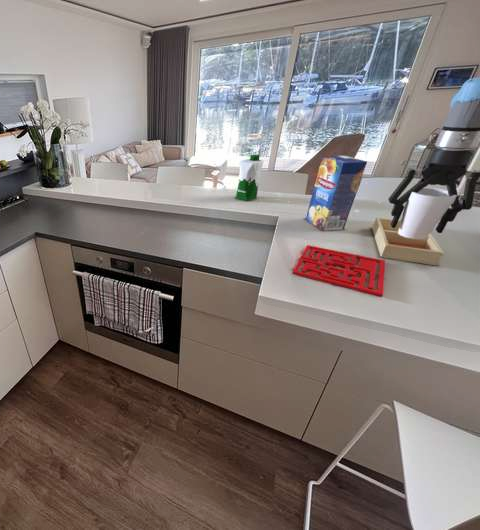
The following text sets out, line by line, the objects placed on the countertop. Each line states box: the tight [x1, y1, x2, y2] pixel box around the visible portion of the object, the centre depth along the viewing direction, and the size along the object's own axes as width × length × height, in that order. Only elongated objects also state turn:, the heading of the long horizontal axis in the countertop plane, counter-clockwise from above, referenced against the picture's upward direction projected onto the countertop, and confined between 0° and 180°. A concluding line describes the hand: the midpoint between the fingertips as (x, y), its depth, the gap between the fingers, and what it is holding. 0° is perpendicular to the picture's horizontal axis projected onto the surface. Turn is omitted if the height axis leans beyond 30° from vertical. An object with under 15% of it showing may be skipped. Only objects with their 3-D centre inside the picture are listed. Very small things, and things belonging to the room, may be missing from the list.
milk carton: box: [235, 154, 265, 202], centre depth 138 cm, size 9×9×20 cm
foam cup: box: [398, 187, 457, 239], centre depth 82 cm, size 10×9×13 cm
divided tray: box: [371, 217, 444, 266], centre depth 92 cm, size 12×24×4 cm, turn 148°
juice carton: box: [305, 154, 368, 231], centre depth 105 cm, size 12×8×24 cm, turn 179°
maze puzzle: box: [292, 244, 386, 297], centre depth 83 cm, size 20×20×1 cm
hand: (414, 228), depth 85 cm, fingers closed on foam cup, 9 cm apart
